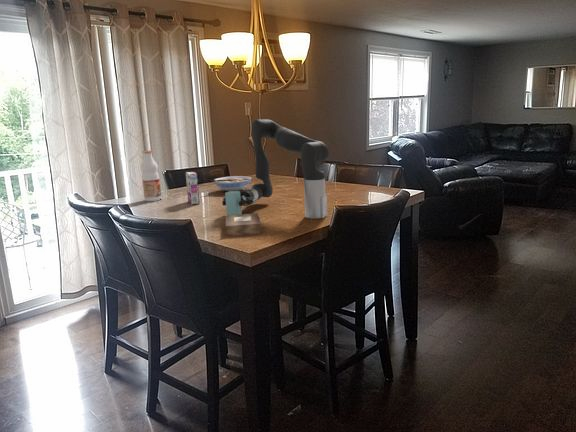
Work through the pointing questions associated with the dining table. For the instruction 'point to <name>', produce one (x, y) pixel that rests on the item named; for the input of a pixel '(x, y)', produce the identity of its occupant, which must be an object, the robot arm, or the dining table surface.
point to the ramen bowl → (232, 182)
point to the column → (233, 203)
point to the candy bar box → (192, 188)
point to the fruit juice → (150, 178)
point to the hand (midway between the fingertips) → (231, 203)
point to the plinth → (243, 224)
